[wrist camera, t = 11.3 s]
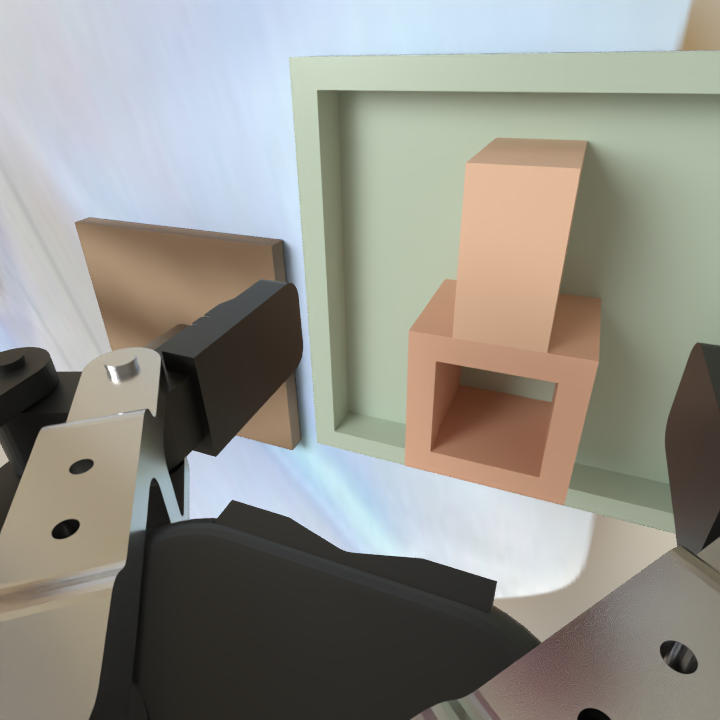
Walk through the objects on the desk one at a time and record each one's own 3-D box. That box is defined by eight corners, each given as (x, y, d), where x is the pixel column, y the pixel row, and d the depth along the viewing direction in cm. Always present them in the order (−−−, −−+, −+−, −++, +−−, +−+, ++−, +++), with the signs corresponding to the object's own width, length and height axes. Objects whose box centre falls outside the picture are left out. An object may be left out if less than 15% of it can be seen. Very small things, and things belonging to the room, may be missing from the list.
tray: (321, 55, 20) (289, 57, 18) (873, 48, 15) (915, 48, 13) (338, 414, 29) (317, 442, 27) (690, 495, 23) (698, 539, 21)
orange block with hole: (571, 425, 23) (564, 505, 19) (437, 398, 25) (404, 465, 21) (636, 142, 17) (644, 172, 13) (454, 135, 19) (413, 160, 15)
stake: (89, 217, 29) (-46, 262, 23) (282, 239, 25) (179, 301, 19) (139, 398, 35) (42, 471, 29) (300, 439, 31) (227, 534, 25)
